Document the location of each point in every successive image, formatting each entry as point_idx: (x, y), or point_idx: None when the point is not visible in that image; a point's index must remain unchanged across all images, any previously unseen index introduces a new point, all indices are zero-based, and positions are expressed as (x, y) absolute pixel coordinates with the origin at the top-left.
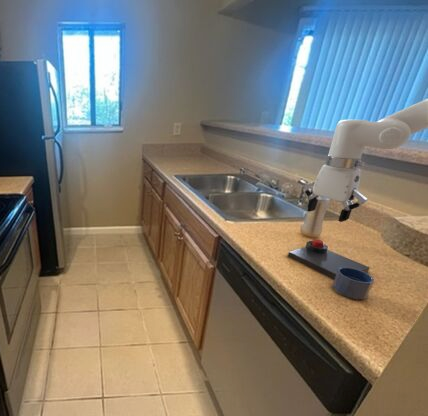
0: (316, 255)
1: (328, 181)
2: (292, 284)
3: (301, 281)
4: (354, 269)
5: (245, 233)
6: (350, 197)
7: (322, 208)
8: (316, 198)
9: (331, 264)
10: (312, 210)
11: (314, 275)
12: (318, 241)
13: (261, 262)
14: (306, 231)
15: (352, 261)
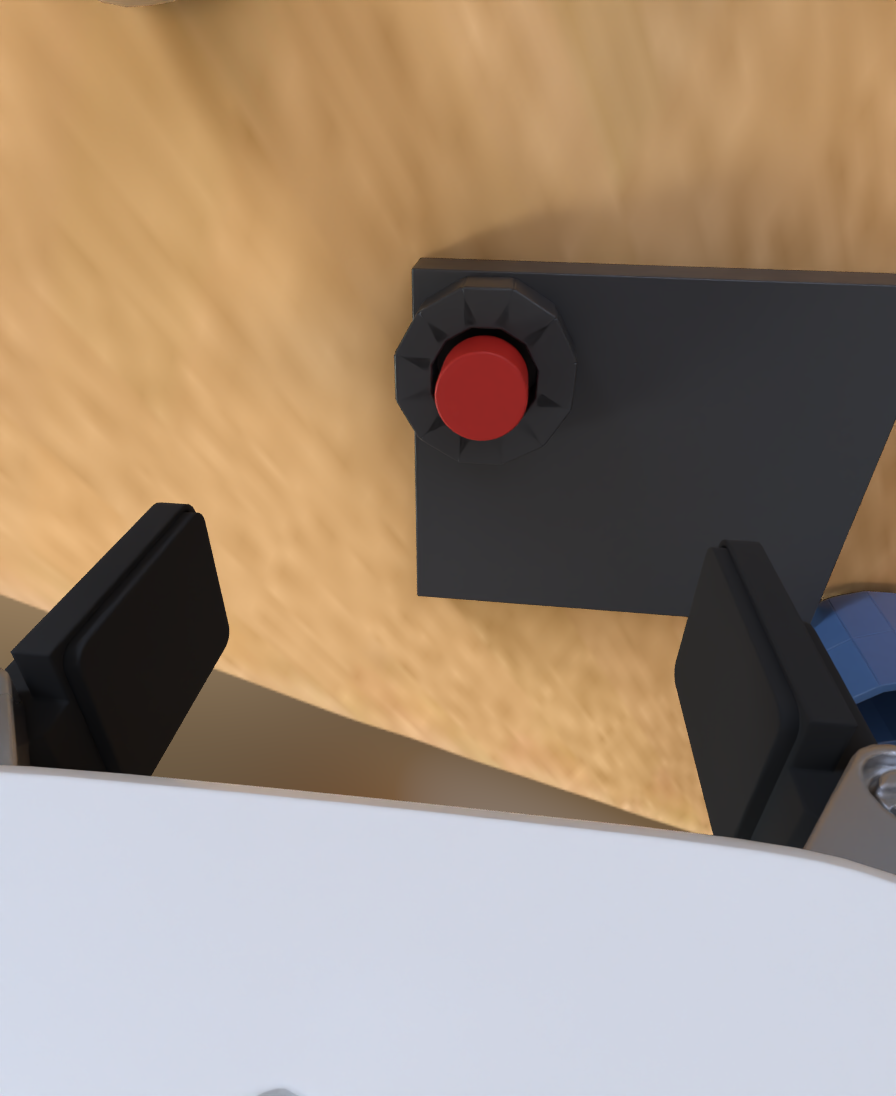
0: (555, 483)
1: None
2: (618, 779)
3: (631, 733)
4: (890, 687)
5: (21, 506)
6: (879, 927)
7: None
8: (53, 727)
9: (692, 527)
10: (212, 576)
11: (647, 638)
12: (486, 404)
13: (405, 732)
14: (149, 2)
15: (800, 315)
